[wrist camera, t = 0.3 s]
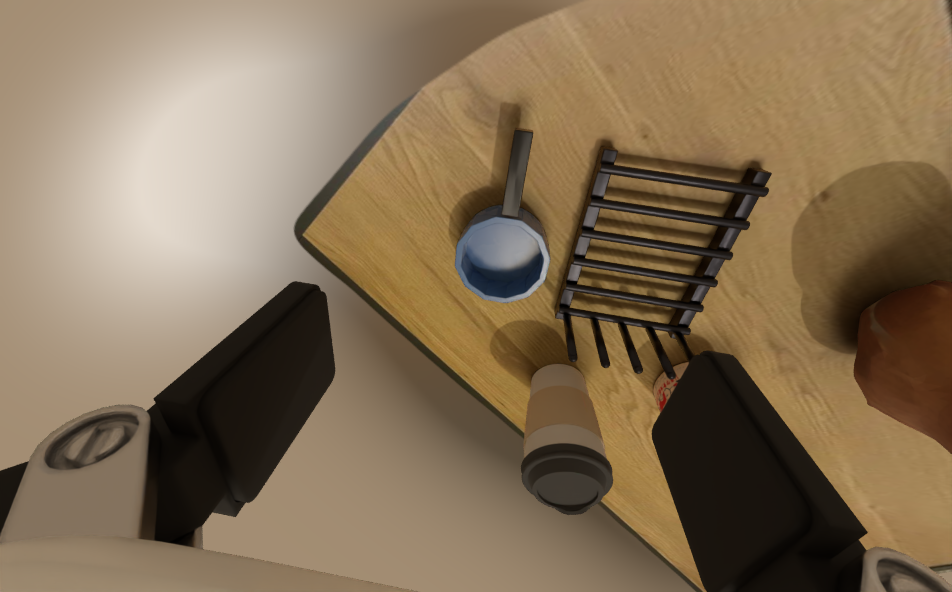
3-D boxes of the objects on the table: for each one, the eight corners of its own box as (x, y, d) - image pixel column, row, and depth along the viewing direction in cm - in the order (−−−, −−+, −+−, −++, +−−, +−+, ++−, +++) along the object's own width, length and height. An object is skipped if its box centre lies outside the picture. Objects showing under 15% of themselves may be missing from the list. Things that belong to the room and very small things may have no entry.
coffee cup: (515, 362, 46) (509, 471, 33) (587, 351, 44) (610, 463, 31) (532, 410, 50) (532, 522, 38) (598, 402, 48) (622, 520, 35)
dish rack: (601, 145, 32) (624, 169, 24) (762, 169, 31) (842, 201, 23) (554, 311, 41) (560, 366, 33) (677, 331, 41) (712, 393, 33)
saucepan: (474, 117, 32) (467, 122, 28) (575, 132, 31) (581, 139, 28) (458, 276, 41) (451, 295, 37) (537, 289, 40) (537, 309, 37)
